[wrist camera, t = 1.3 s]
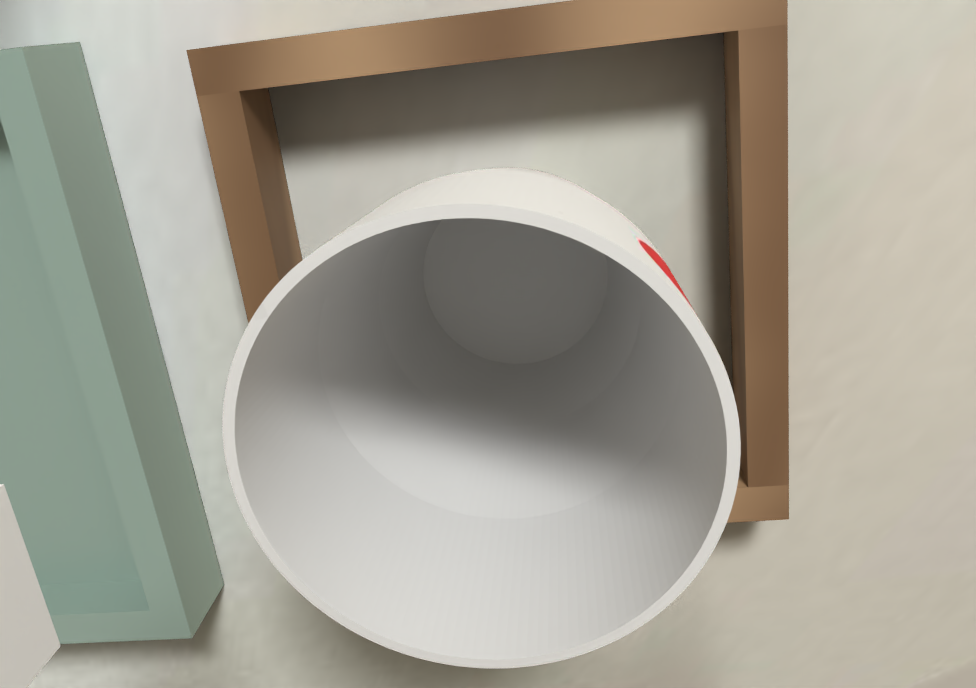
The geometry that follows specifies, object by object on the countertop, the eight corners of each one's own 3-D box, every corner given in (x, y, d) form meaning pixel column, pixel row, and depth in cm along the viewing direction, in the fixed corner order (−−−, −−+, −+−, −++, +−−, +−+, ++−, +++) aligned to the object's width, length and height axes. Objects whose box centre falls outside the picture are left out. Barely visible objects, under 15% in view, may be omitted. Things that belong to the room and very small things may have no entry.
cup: (648, 431, 24) (696, 695, 15) (357, 401, 25) (230, 640, 16) (693, 131, 22) (787, 231, 12) (362, 104, 22) (210, 180, 13)
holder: (318, 508, 26) (299, 546, 24) (219, 45, 22) (186, 50, 20) (772, 480, 25) (788, 519, 23) (767, -25, 20) (786, -28, 18)
